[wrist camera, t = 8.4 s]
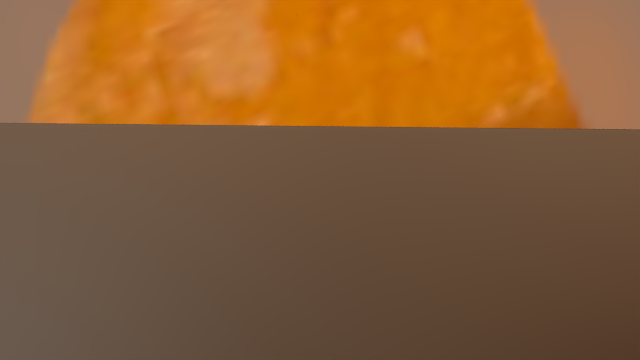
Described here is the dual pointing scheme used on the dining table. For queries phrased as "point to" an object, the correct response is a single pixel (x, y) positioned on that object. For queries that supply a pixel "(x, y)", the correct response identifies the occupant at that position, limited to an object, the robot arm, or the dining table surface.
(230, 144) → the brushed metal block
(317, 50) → the dining table surface
